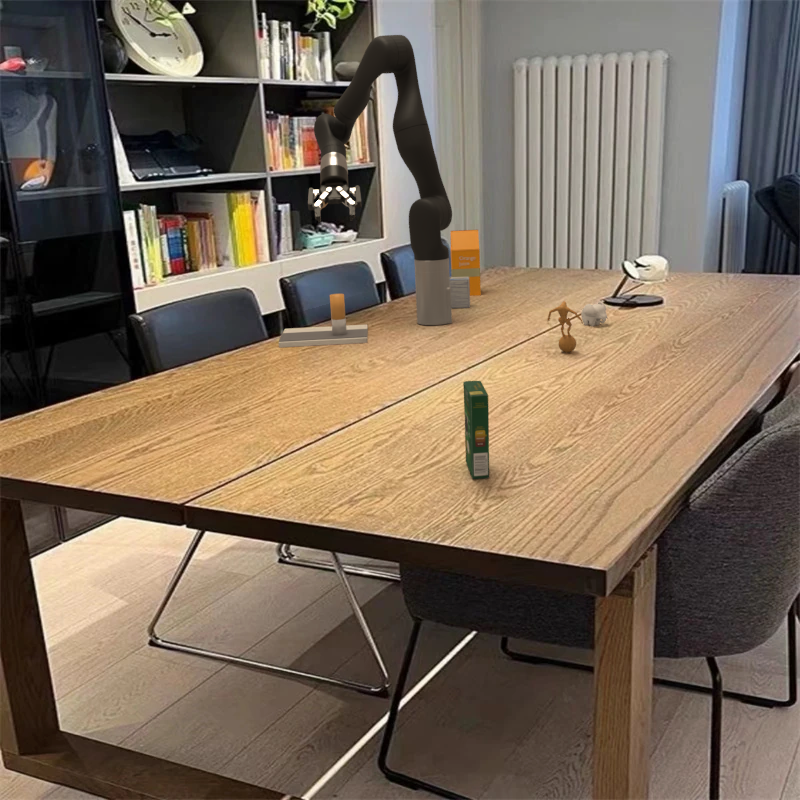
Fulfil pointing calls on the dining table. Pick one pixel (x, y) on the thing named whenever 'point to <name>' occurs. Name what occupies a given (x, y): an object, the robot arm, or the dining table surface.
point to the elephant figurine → (594, 314)
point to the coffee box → (476, 429)
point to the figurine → (566, 341)
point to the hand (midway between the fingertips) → (335, 219)
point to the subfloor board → (322, 336)
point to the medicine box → (460, 292)
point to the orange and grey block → (338, 314)
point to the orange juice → (466, 258)
